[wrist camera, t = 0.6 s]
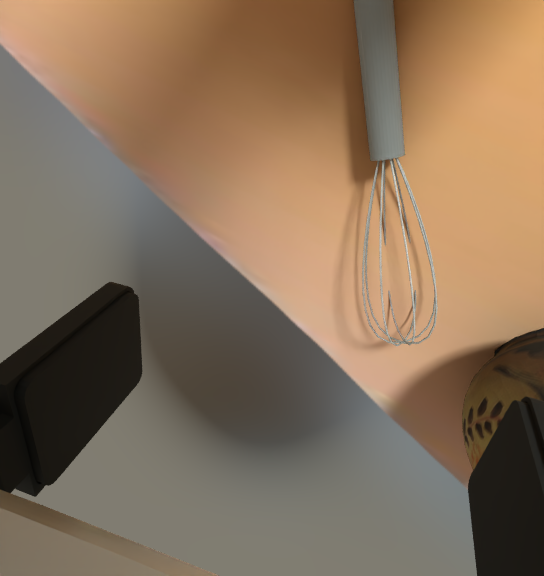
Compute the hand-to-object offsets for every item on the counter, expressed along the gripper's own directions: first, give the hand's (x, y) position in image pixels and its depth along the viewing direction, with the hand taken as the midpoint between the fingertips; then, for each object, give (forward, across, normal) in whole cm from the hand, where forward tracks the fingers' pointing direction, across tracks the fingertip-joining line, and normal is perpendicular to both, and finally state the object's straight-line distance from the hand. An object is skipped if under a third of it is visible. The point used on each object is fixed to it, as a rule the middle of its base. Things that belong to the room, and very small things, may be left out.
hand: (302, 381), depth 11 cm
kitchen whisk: (+31, 0, +1) cm, 31 cm away
